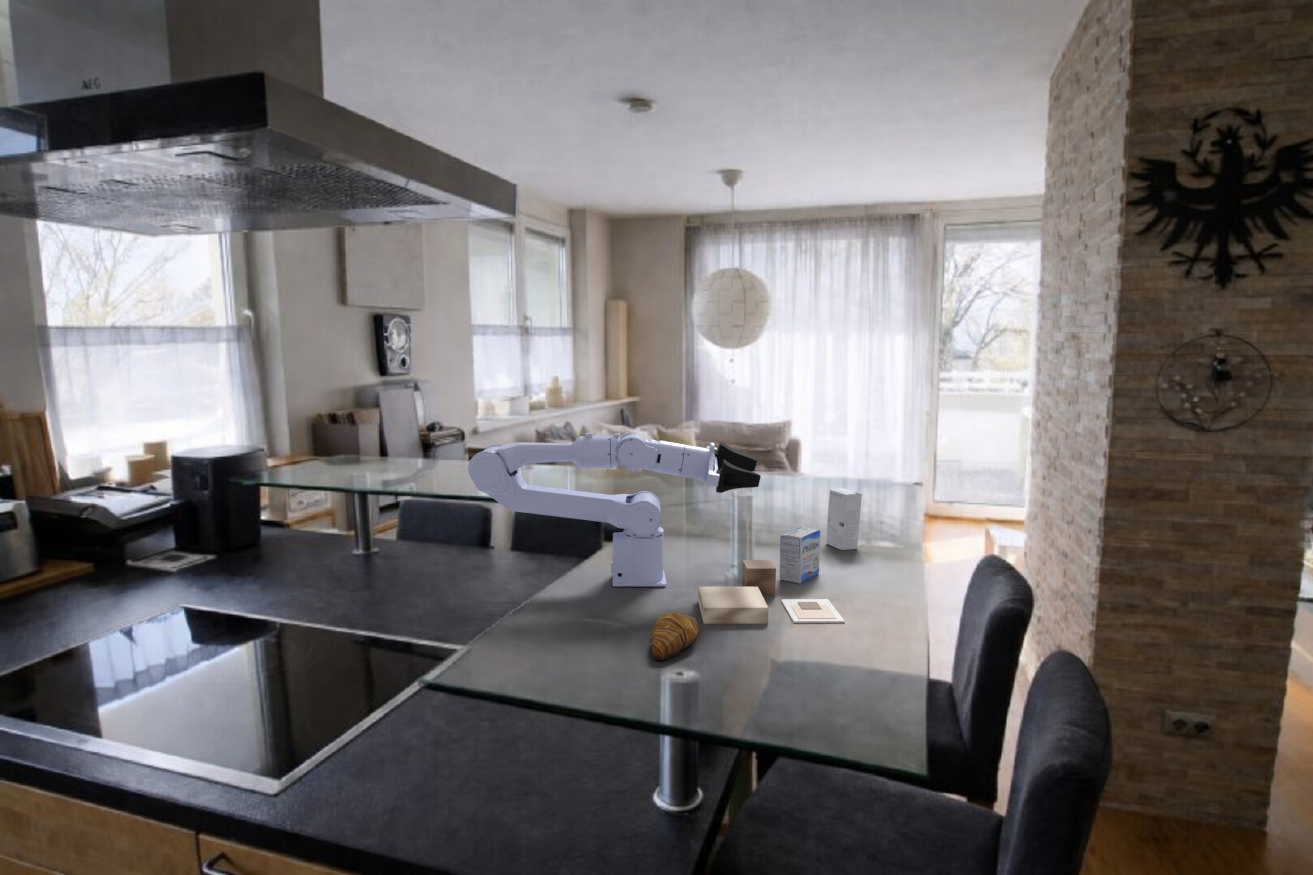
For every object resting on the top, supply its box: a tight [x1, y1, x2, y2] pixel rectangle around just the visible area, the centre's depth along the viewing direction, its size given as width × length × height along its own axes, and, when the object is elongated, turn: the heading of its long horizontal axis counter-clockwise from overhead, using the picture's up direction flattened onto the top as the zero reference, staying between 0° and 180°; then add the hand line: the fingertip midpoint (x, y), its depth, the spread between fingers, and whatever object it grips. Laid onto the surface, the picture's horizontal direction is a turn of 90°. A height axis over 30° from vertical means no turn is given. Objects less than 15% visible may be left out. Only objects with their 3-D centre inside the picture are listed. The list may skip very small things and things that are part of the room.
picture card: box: [780, 598, 846, 624], centre depth 122 cm, size 8×10×1 cm
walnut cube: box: [741, 559, 777, 597], centre depth 131 cm, size 5×5×5 cm
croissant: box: [649, 612, 700, 661], centre depth 108 cm, size 14×7×5 cm, turn 157°
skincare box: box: [825, 487, 863, 551], centre depth 161 cm, size 6×4×12 cm
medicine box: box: [779, 526, 821, 585], centre depth 139 cm, size 8×4×9 cm, turn 143°
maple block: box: [697, 586, 769, 625], centre depth 122 cm, size 10×10×3 cm
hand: (757, 473), depth 134 cm, fingers open, 7 cm apart
